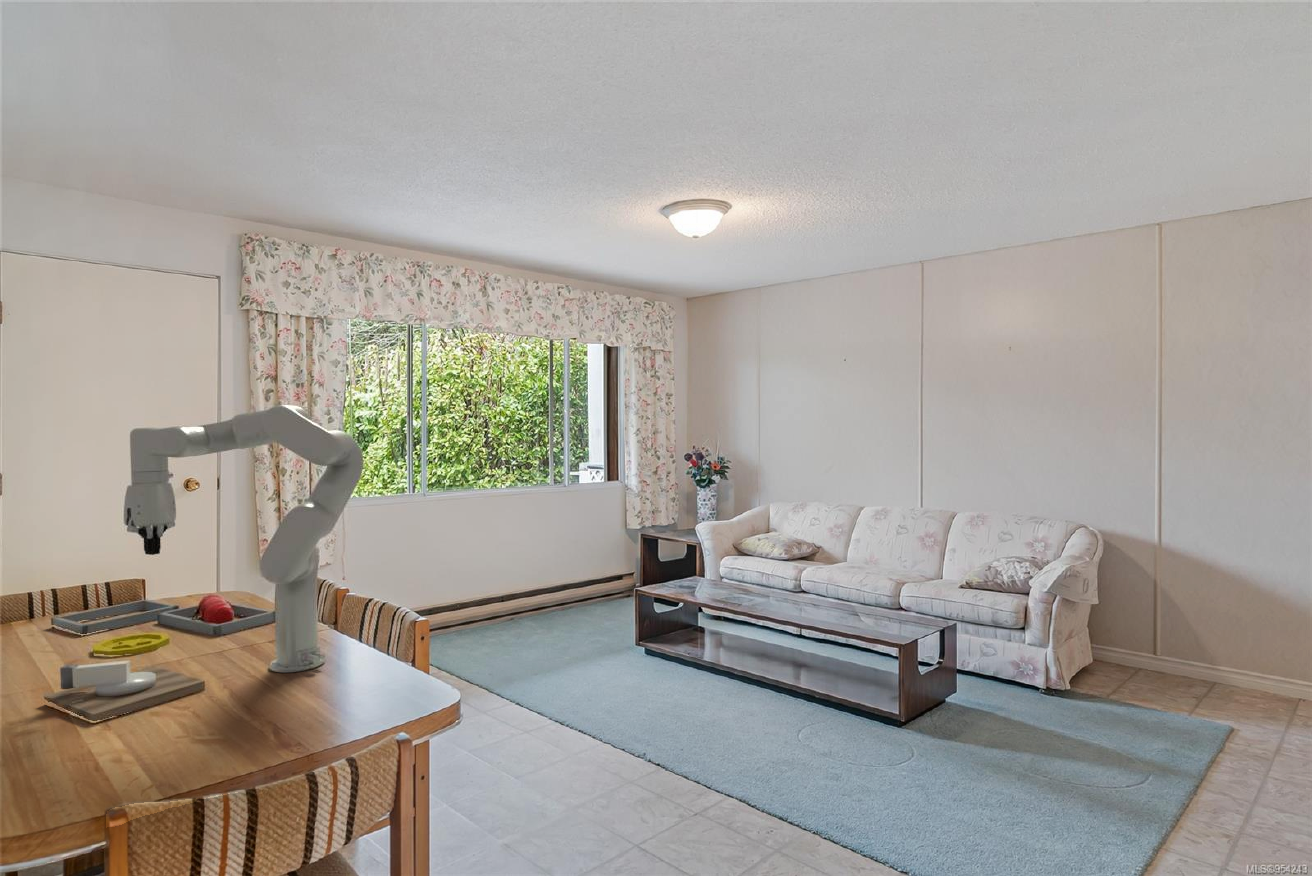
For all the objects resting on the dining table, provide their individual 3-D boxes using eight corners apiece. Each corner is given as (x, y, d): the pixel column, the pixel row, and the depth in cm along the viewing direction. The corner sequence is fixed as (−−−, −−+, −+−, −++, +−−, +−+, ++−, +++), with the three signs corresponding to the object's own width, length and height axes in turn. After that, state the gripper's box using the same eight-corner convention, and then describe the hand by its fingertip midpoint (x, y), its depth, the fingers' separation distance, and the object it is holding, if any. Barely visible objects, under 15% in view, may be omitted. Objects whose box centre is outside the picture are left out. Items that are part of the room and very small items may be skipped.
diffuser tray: (179, 615, 239) (178, 605, 239) (82, 636, 216) (81, 626, 216) (147, 608, 249) (146, 599, 249) (51, 627, 226) (51, 618, 226)
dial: (162, 676, 173) (161, 651, 173) (146, 692, 163) (145, 666, 163) (72, 685, 168) (71, 660, 168) (49, 703, 158) (48, 675, 157)
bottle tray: (277, 621, 229) (277, 611, 229) (216, 636, 213) (216, 626, 213) (218, 609, 245) (218, 600, 245) (157, 623, 229) (157, 613, 229)
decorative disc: (103, 644, 209) (103, 637, 209) (176, 636, 215) (176, 630, 215) (81, 662, 193) (81, 654, 193) (161, 653, 200) (161, 646, 200)
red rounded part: (188, 613, 214) (180, 598, 235) (194, 640, 215) (186, 622, 235) (235, 600, 222) (223, 586, 242) (241, 625, 223) (229, 609, 243)
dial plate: (204, 689, 170) (204, 680, 170) (93, 724, 151) (93, 713, 151) (154, 674, 182) (153, 665, 181) (44, 705, 162) (43, 694, 162)
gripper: (171, 476, 190) (173, 548, 191) (107, 480, 177) (110, 558, 177) (190, 476, 187) (192, 550, 187) (126, 481, 173) (129, 560, 174)
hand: (152, 553), depth 182 cm, fingers closed
